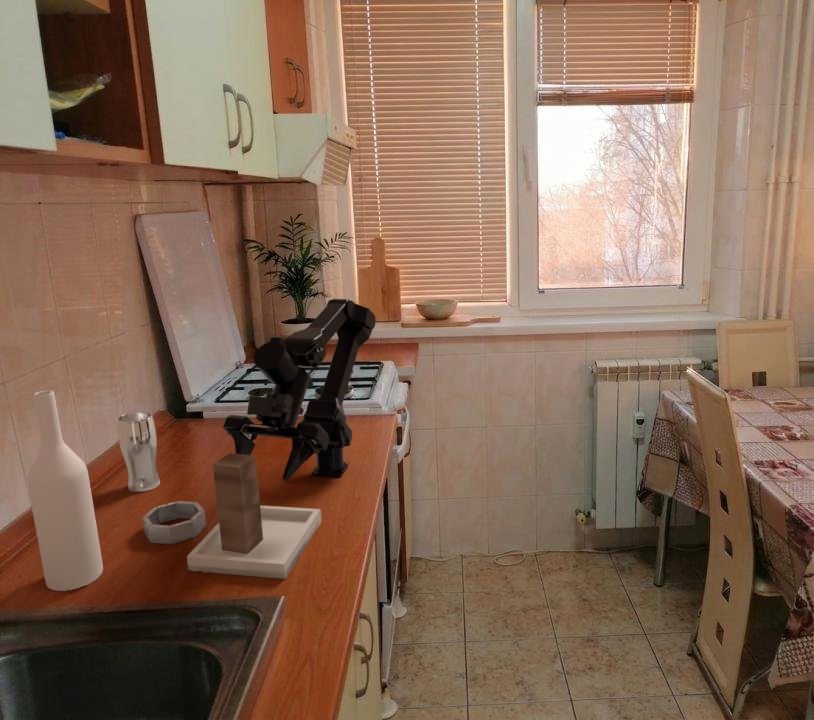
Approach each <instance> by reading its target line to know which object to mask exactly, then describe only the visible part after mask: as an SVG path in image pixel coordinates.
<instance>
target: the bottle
mask: <svg viewBox="0 0 814 720" xmlns="http://www.w3.org/2000/svg"><path fill="white" fill-rule="evenodd" d="M33 401H34V405H35V412H36V417H37V423H38V429H39V435H40V442H41V444H40V448H39V450H38V453H37V455H36V456H35V459H34V461H33V463H32V465H31V466H30V468H29V471H28V474H27V478H26V481H27V482H26V483H27V489H28V494H29V499H30V505H31V510H32V516H33V521H34V526H35V531H36V532H35V533H36V537H37V538H36V539H37V544H38V547H39V552H40V554H39V555H40V558H41V563H42V570H43V576H44V580H45V585H46V587H47V588H48V589H50V590H52V591H55V592H67V591H68V590H69V591H73V589H74V590H78V589H81V588H83V587H82V586H84V587H86V586H88V585H90V584H92V583H93V582H95V581H96V580H97V579H99V577H100V576H101V575H102V574H103V571H104V565H103V559H102V552H101V551H102V550H101V547H100V546H101V545H100V539H99V538H100V537H99V532H98V528H97V527H98V526H97V522H96V515H95V514H96V513H95V507H94V502H93V501H94V500H93V495H92V489H91V484H90V482H91V481H90V478H89V477H90V476H89V471H88V468H87V466H86V463H85V462H84V461H83V459H82V458H81V457H80V456H78V455H77V454H76V453H75V451H73V449H71V448H70V446H68V445H67V444H66V443H65V442H64V438H63V436H62V432H61V431H62V430H61V425H60V421H59V420H60V418H59V415H58V408H57V401H56V396H55V392H54V390H52V389H51V390H41V391H40V390H39V391H37V392H35V393H34V394H33ZM85 585H86V586H85ZM80 587H81V588H80ZM77 588H78V589H77Z"/></svg>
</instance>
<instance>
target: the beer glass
mask: <svg viewBox="0 0 814 720" xmlns="http://www.w3.org/2000/svg"><path fill="white" fill-rule="evenodd" d="M116 421H117V435H118V442H119V446H120V451H121V454H122V456H123V461H125V465H126V468H127V472H128V484H127V485H128V486H127V489H128V491H130V492H133V493H144V492H149V491H152V490H154V489H156V488H158V487H159V486H160V484H161V480H160V477H159V474H158V471H157V466H156V465H157V462H156V461H157V460H156V459H157V439H158V438H157V431H156V426H155V421H154V417H153V413H152V412H151V411H145V410H139V411H138V410H137V411H132V412H126V413H124V414H121V415H119V416H118V417H117V418H116Z"/></svg>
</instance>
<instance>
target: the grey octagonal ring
mask: <svg viewBox="0 0 814 720" xmlns="http://www.w3.org/2000/svg"><path fill="white" fill-rule="evenodd" d="M177 519H187V520H185V521H182V522H179V523H175V524H171V525H166V524H165V525H164V524H163V523H166V522H170V521H172V520H173V521H174V520H177ZM188 519H189V520H188ZM142 525H143V533H144V535H145V536H146V538H147V539H148V542H149V543H153V544H166V545H174V544H176V543H181V542H183V541H186V540H190V539H193V538H196V536H198V535H199V533H201V532H202V530H203V529H204V528H205V527H206V526H207V522H206V513H205V509H204V508H203V507H202V506H201V505H200V503H199V502H198V501H186V500H185V501H182V500H176V501H172V502H168V503H164V504H162V505H157V506H155V507H154V508H152V509H151V510H149V511H148V512H147V513H146V514H145V515H144V516H142Z"/></svg>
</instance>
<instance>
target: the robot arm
mask: <svg viewBox="0 0 814 720" xmlns="http://www.w3.org/2000/svg"><path fill="white" fill-rule="evenodd" d="M376 321H377V320H376V316H375V313H374V312H373V311H372V310H371V309H370V308H368V307H366V306H363V305H361V304H358V303H355V302H354V300H350V299H349V298H332V299H329V300H328V301H327V304H326V307H324V308H323V310H322V311H320V313H319V314H318V315H317V316H316V317H315V318H314V320H313V321H311V323H310V324H309V325H308V326H307V327H306V328H304V329H301V330H298V331H294V332H293V333H292V334H290V335H288V336H287V337H286V338H285V339H283V338H282V337H280V336H271V337H270V340H269V342H266V343H264V344H263V345H261V346H260V347H259V348H258V349H257V350H256V351H255V352H254V354H253V363H254V365H255V367H256V368H257V369H258V370H259V371H260V372H261V373H262V374H263V375H264V377H266V379H267V380H268V381H269V383H271V384H273V385H274V387H273V390H272V392H271V393H267V394H266V396H265V397H264V396H252V395H249V398H248V403H247V412H246V415H247V416H245V415H235V414H230V415H228V416H226V417H225V419H224V421H223V424H222V427H221V428H222V429H223V431H225V432H227V434H228V435H229V436H230V437H231V438H232V439H233V442H234V448H235V451H234V452H235V454H244V455H252V453H253V451H254V450H255V449H254V448H255V447H256V443H255V442H254V441H255V440H256V439H257V438H258V436H264V437H272V438H280V439H281V438H282V439H291V441H292V442H291V451H290V453H289V457H288V459H287V462H286V465H285V468H284V471H283V475H282V480H283V482H288V481H289V480H290V478H291V477H292V476H293V475H294V474H295V473H296V472H297V470H298V469H300V467H301V466H302V465H303V464H304V463H305V462H306V461H308V460H309V459H310V458H311V457H312V456H313V455H314V454H315V460H316V466H315V467H314V469H313V470H311V471H312V472H311V476H319V477H321V476H322V477H336V476H340V477H342V476H343V475H342V473H343V472H344V471H345V472H346V470H347V469H346V467H347V466H348V464H349V465H350V463H349V462H345V461H344V448H346V447H350V446H351V442H352V440H353V439H352V438H353V430H352V429H351V428H350V426H349V425H348V424H347V422H346V421H347V416H346V413H345V410H344V407H343V404H344V400H345V396H346V393H347V389H348V386H349V383H350V380H351V377H352V376H351V375H352V373H353V369H354V366H355V362H356V359H357V356H358V352H359V349H360V347H361V346H363V344H365V343H366V342H367V341H368V340H369V339H370V337H371V335H372V333H373V329H374V328H375V327H376ZM335 335H337V343H336V345H335V348H334V352H333V354H332V357H331V362H330V365H329V368H328V372H327V374H326V378H325V380H324V384H323V388H322V389H321V393H320V396H319V397H318V398H317V399H312V398H311V399H309V401H308V402H307V407H306V410H305V409H304V408H303V407H302V406H303V402H304V399H305V396H306V392H307V390H308V389H307V388H310V387H311V388H312V387H314V381H313V379H312V378H311V374H310V372H307V371H306V369H305V368H313V369H314V368H315V369H316V368H318V367H319V366H321V364H322V362H323V361H324V358H325V357H326V355H327V350H326V345H327V344H328V343H329V341H330V340H331V339H332V338H333V337H334V336H335ZM304 410H305V411H304ZM304 412H305V413H304ZM303 413H304V414H303ZM251 415H252V416H253V415H254V416H255V419H256V420H257V421H258V422H261V423H260V424H258V423H254V422H253V421H252V420H251V419H250V418H249V417H248V416H251ZM300 415H303V418H302V420H301V421H299V423H297V421H298V418H299V416H300ZM296 424H297V426H296ZM346 463H348V464H346ZM348 467H349V466H348ZM348 467H347V468H348ZM345 469H346V470H345ZM345 472H344V473H345ZM344 473H343V474H344ZM341 475H342V476H341Z"/></svg>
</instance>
